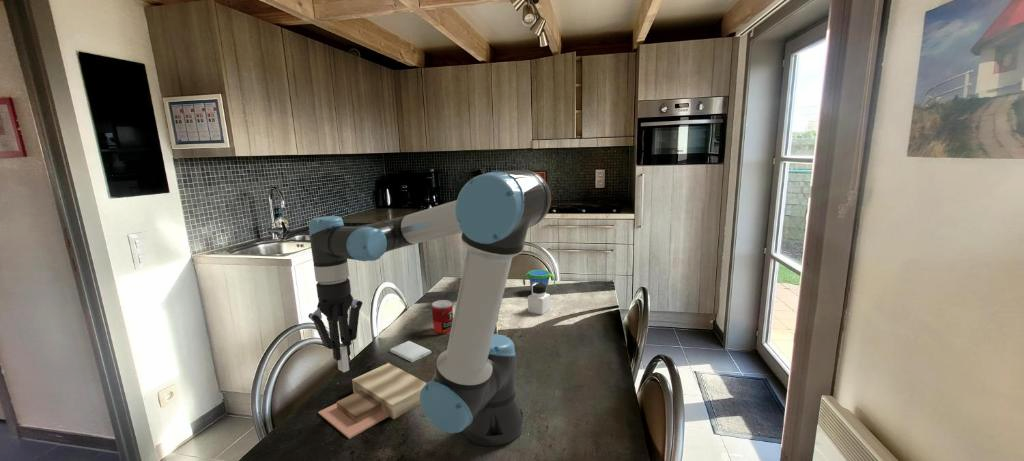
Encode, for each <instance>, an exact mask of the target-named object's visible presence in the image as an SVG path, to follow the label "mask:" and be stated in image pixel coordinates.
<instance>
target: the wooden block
mask: <svg viewBox="0 0 1024 461" xmlns="http://www.w3.org/2000/svg"><path fill="white" fill-rule="evenodd" d="M336 403H337V409H338V410H340V411H341V412H342V413H344V414H345V415H346V416H348V417H349V418H350V419H352V420H353V421H354V422H355V423H359V422H360V421H362V420H364V419H366V418H368V417H370V416H371V415H373V414H375V413H377V412H379V411H381V403H380V402H378V401H377V400H375V399H374V398H372V397H370V396H369V395H367V394H366V393H364V392H363V391H361V390H360V391H358V392H356V393H354V392H353V393H352V394H350V395H348V396H346V397H344V398H342V399H340V400H337V401H336Z"/></svg>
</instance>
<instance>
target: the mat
mask: <svg viewBox="0 0 1024 461" xmlns="http://www.w3.org/2000/svg"><path fill="white" fill-rule="evenodd" d="M317 414H319V416H321V417H322V418H323V419H324V420H326V421H327V422H328V423H329V424H331V425H332V426H333V427H334V428H335V429H336V430H338V431H339V432H340V433H341V434H342V435H344V436H345V437H346V438H347V439H349V440H350V439H352V438H353V437H355V436H357V435H359V434H361V433H363V432H365V431H367V429H369V428H371V427H373V426H374V425H377V424H379V423H380V422H382V421H383V420H385V419H387V418H390V417H389V414H387V413H386V412H384V411H383V410H381V411H379V412H377V413H375V414H373V415H371V416H370V417H368V418H366V419H364V420H362V421H360V422H359V423H355V422H354V421H353V420H352V419H350V418H349V417H348V416H346V415H345V414H344V413H342V412H341V411H340V410H338V409H337V402H336V403H333V404H332V405H330V406H327V407H326V408H323V409H321V410H319V411H318V413H317Z"/></svg>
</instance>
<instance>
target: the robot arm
mask: <svg viewBox="0 0 1024 461" xmlns="http://www.w3.org/2000/svg"><path fill="white" fill-rule="evenodd" d="M551 202H552V195H551V190H550V187H549V185H548V183H547V181H546V180H545V179H544V178H543V177H542V176H540V174H538V173H537V172H534V171H532V170H528V169H515V170H504V171H498V170H494V171H493V170H492V171H490V172H485V173H483V174H479V175H476V176H475V177H472V178H471V179H470V180H468V181H467V182H466V183H465V184H464V186H463V187H462V188H461V189H460V192H459V193H458V196H457V199H456V200H453V201H449V202H445V203H442V204H440V205H437V206H433V207H428V208H427V209H423V210H419V211H417V212H412V213H411V214H407V215H403V216H399V217H395V218H392V219H389V220H383V221H380V222H374V223H368V224H364V225H360V226H359V225H358V226H346V225H345V224H344V220H343V218H342V216H337V215H329V216H318V217H314V218H312V219H310V220H309V222H308V228H309V231H308V232H309V235H308V237H309V241H310V249H311V255H312V262H313V271H314V277H315V281H316V282H317V283H316V286H315V287H316V293H317V300H318V303H317V306H316V310H315V311H314V312H311V313H309V314H308V319H310V320H311V321H312V322H313V324H314V326H315V328H316V331H317V333H318V336H319V338H320V340H321V343H322V345H323V346H324V347H325V348H326V349H329V350H332V356H333V359H334V361H337V368H338V370H339V371H341V372H342V373H346V372H348V371H350V364H349V357H350V356H351V345H352V344H353V343H352V341H355V340H356V339H357V335H358V329H359V328H358V327H359V318H360V311H361V308H362V307H363V301H361V300H359V299H355V298H354V297H353V296H352V294H351V293H352V290H351V281H350V279H349V276H350V273H349V265H348V264H349V263H348V260H353V261H359V262H360V261H361V262H368V261H369V262H373V261H374V262H375V261H377V260H379V259H380V258H381V257H382V256H384V254H385V253H388V252H390V251H394V250H397V249H401V248H404V247H405V248H406V247H409V246H412V245H416V244H420V243H424V242H425V243H426V242H428V241H429V242H430V241H433V240H437V239H440V238H444V237H450V236H452V235H457V234H461V241H462V243H463V244H464V246H465V247H466V248H467V249H466V254H465V259H464V265H463V269H462V274H461V280H460V284H459V289H458V293H457V294H458V295H457V299H456V303H455V307H454V308H455V309H454V312H453V322H452V327H451V332H450V333H449V336H448V337H449V338H448V342H447V348H446V350H444V351H442V352H441V353H440V354H439V356H438V357H437V360H436V365H435V368H434V374H433V377H432V379H431V380H430V381H427V382H426V385H425V386H424V387H423V388H422V390H421V392H420V404H419V405H420V406H421V411H423V412H422V413H424V414H425V417H426V418H427V420H428V421H429V422H430V423H431V424H432V425H434V427H436V428H438V429H439V430H440V431H442V432H445V433H447V434H455V433H456V434H457V433H461V432H463V434H464V436H465V438H467V439H468V440H469V441H470V442H471V443H474V444H476V445H478V446H479V445H480V446H483V447H497V446H503V445H506V444H509V443H512V442H513V441H514V440H516V439H517V438H518V437H520V435H521V434H522V432H523V431H524V427H525V419H524V418H525V417H524V412H523V410H522V408H521V405H520V402H519V400H518V397H517V388H516V387H517V382H516V376H517V375H516V354H517V353H516V352H515V351H516V350H515V343H514V341H513V340H512V339H511V338H510V337H508V336H506V335H502V334H497V333H495V330H496V327H497V322H498V318H499V315H500V314H499V313H500V309H501V305H502V303H503V302H502V301H503V297H504V293H505V289H506V285H507V281H508V277H509V272H510V270H511V269H510V268H511V265H512V261H513V259H514V258H515V257H517V256H519V255H520V254H522V252H523V249H524V246H525V242H526V238H527V234H528V229H530V228H531V227H534V226H536V225H538V224H539V223H540V222H542V221H543V220H544V218H545V217H546V216H547V214H548V213H549V210H550V209H551ZM348 311H349V312H348ZM322 315H324V316H325V317H326V320H327V324H328V331H327V327H326V325H325V323H324V321H323V320H322V319H323V316H322ZM438 429H437V430H438Z"/></svg>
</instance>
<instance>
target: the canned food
mask: <svg viewBox="0 0 1024 461" xmlns="http://www.w3.org/2000/svg"><path fill="white" fill-rule="evenodd" d="M431 313H432V326H433V327H432V328H433V331H434V333H435V334H438V335H447V334H450V332H451V327H452V322H453V318H454V311H453V302H452V301H450V300H447V299H439V300H435V301H433V302H432V303H431Z"/></svg>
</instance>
